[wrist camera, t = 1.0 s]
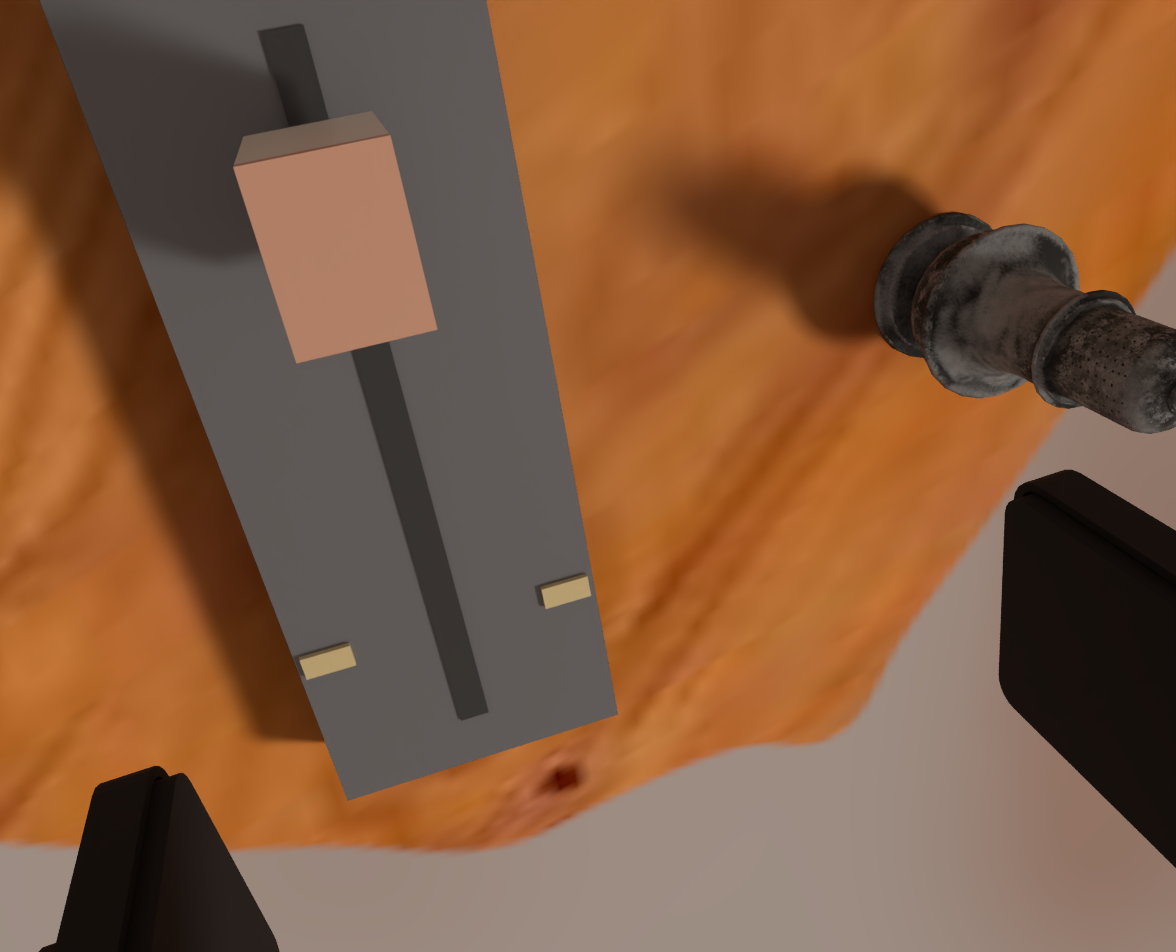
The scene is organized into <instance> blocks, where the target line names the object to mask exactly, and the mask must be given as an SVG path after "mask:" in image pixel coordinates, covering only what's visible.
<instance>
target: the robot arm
mask: <svg viewBox="0 0 1176 952" xmlns="http://www.w3.org/2000/svg"><path fill="white" fill-rule="evenodd" d="M1001 603H1002V604H1001V631H1000V655H999V656H1000V657H999V681H1000V685H1001V689H1002V691H1003V693H1004V695H1005V697H1006V699H1007V700H1008V702H1009V703H1010V704H1011V706H1012V707H1013V708H1014V709H1015V710H1016V711H1017V712H1018V713H1019V714H1020V715H1021V716H1022V717H1023V718H1024V719H1025V720H1026V721H1027V722H1028V723H1029V724H1030V725H1031V726H1032V727H1033V728H1034V729H1035V730H1036V731H1037V732H1038V733H1039V734H1040V735H1041V736H1042V737H1044V739H1045V740H1047V741H1048V742H1049V743H1050V744H1051V745H1052V746H1053V747H1054V748H1055V749H1056V750H1057V751H1058V752H1059V753H1060V754H1061V755H1062V756H1063V757H1064V758H1065V759H1066V760H1067V761H1068V762H1069V763H1070V764H1071V765H1072V766H1073V767H1074V768H1075V769H1076V770H1077V771H1078V772H1079V773H1080V774H1081V775H1082V776H1083V777H1084V778H1085V779H1086V780H1087V781H1088V782H1089V783H1090V784H1091V785H1092V786H1093V787H1094V788H1095V789H1096V790H1097V791H1099V793H1100V794H1101V795H1102V796H1103V797H1104V798H1105V799H1106V800H1107V801H1108V802H1109V803H1111V805H1113V806H1114V807H1115V808H1116V809H1117V810H1118V811H1119V812H1120V813H1121V814H1122V815H1123V816H1124V817H1125V818H1126V819H1127V820H1128V821H1129V822H1130V823H1131V824H1132V825H1133V826H1134V827H1135V828H1136V829H1137V830H1138V831H1139V832H1140V833H1141V834H1142V835H1143V836H1144V837H1145V838H1146V839H1147V840H1148V841H1149V842H1150V843H1151V844H1152V845H1153V846H1154V847H1155V848H1156V849H1157V850H1158V851H1159V852H1160V853H1161V854H1162V855H1163V856H1164V857H1165V858H1166V859H1167V860H1168V861H1169V862H1170V863H1171V864H1172V865H1173V866H1174V867H1175V868H1176V531H1175V530H1174V529H1172V528H1170V527H1169V526H1167V525H1165V524H1164V523H1162V522H1160V521H1159V520H1157V519H1155V518H1154V517H1152V516H1150V515H1149V514H1147V513H1145V512H1144V511H1142V510H1141V509H1139V508H1137V507H1136V506H1134V505H1132V504H1131V503H1129V502H1127V501H1126V500H1124V499H1122V498H1121V497H1119V496H1117V495H1116V494H1114V493H1112V492H1111V491H1109V490H1107V489H1106V488H1104V487H1103V486H1101V485H1099V484H1097V483H1096V482H1094V481H1093V480H1091V479H1089V478H1087V477H1086V476H1084V475H1082V474H1081V473H1079V472H1076V471H1074V470H1063V471H1060V472H1057V473H1054V474H1050V475H1047V476H1044V477H1041V478H1039V479H1035V480H1032V481H1029V482H1026V483H1024V484H1022V485H1020V486H1019V487H1018V489H1017V491H1016V492H1015V496H1014V500H1012V501H1010V502H1009V503H1008V505H1007V506H1006V510H1005V524H1004V552H1003V576H1002V602H1001ZM39 952H279V948H278V945H277V942H276V939H275V937H274V935H273V933H272V931H271V929H270V927H269V925H268V924H267V922H266V920H265V918H264V916H263V914H262V913H261V911H260V909H259V907H258V905H257V903H256V901H255V900H254V898H253V896H252V894H251V892H250V891H249V889H248V887H247V885H246V883H245V881H244V879H243V877H242V876H241V874H240V872H239V870H238V868H237V867H236V865H235V863H234V861H233V859H232V857H231V855H230V853H229V852H228V850H227V848H226V846H225V844H224V842H223V841H222V839H221V837H220V835H219V833H218V831H217V829H216V828H215V826H214V824H213V822H212V820H211V818H210V817H209V815H208V813H207V811H206V809H205V807H204V805H203V804H202V802H201V800H200V798H199V796H198V794H197V793H196V791H195V789H194V787H193V785H192V783H191V782H190V780H189V779H188V777H187V776H186V775H185V774H184V773H179V774H175V775H172V776H168V774H167V773H166V771H165V770H164V769H163V768H161V767H160V766H153V767H150V768H147V769H144V770H141V771H138V772H135V773H132V774H128V775H125V776H122V777H119V778H116V779H113V780H110V781H107V782H104V783H101V784H99V785H98V786H97V787H96V788H95V790H94V793H93V795H92V799H91V803H90V807H89V811H88V815H87V819H86V823H85V827H84V831H83V835H82V839H81V843H80V847H79V852H78V856H77V860H76V864H75V868H74V873H73V876H72V880H71V884H70V888H69V893H68V896H67V901H66V905H65V909H64V913H63V917H62V921H61V925H60V929H59V933H58V937H57V941H56V943H54V944H51V945H48V946H46V947H43V948H42V949H41V950H40V951H39Z"/></svg>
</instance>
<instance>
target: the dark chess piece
mask: <svg viewBox="0 0 1176 952" xmlns="http://www.w3.org/2000/svg"><path fill="white" fill-rule="evenodd" d="M874 311H875V317H876V323H877V325H878V327H879V329H880V331H881V333H882V335H883V337H884V338H885V339H886V340H887V341H888V343H889V344H890V345H891V346H892V347H893V348H894V349H896V350H898V351H900V352H902V353H904V354H906V355H909V356H913V357H921V358H924V359H925V361H926V363H927V365H928V367H929V369H930V371H931V374H932V375H933V376H934V377H935V378H936V379H937V380H938V381H939V382H940V383H941V384H942V385H943V386H944V387H945V388H946V389H948V390H950V391H952V392H955V393H957V394H959V395H961V396H965V397H974V398H985V397H991V396H996V395H1001V394H1003V393H1005V392H1008V391H1010V390H1012V389H1014V388H1017V387H1019V386H1021V385H1022V384H1023V383H1025V382H1026V381H1029V382H1031V383H1033V384H1034V386H1035V389H1036V391H1037V393H1038V394H1039V395H1040V396H1041V398H1042V399H1043V400H1044V401H1046V402H1047V403H1049V404H1051V405H1053V406H1055V407H1059V408H1067V409H1069V408H1075V407H1080V406H1084V407H1086V408H1088V409H1090V410H1093V411H1094V412H1096V413H1098V414H1100V415H1102V416H1104V417H1106V418H1108V419H1110V420H1112V421H1114V422H1116V423H1118V424H1120V425H1122V426H1124V427H1126V428H1128V429H1130V430H1131V431H1136V432H1140V433H1148V434H1152V433H1158V432H1162V431H1166V430H1170V429H1172V428H1174V427H1176V329H1173V328H1170V327H1168V326H1165V325H1162V324H1160V323H1157V322H1154V321H1152V320H1149V319H1146V318H1143V317H1141V316H1138V315H1136V314H1135V310H1134V308H1133V307H1132V305H1131V304H1130V302H1129V301H1128V300H1127V299H1126V298H1125V297H1123V296H1121V295H1120V294H1118V293H1116V292H1112V291H1106V290H1098V291H1091V292H1087V293H1083V292H1080V291H1079V271H1078V268H1077V265H1076V262H1075V259H1074V256H1073V253H1072V251H1071V250H1070V249H1069V248H1068V246H1067V245H1066V244H1065V242H1064V241H1063V240H1062V238H1061V237H1059V236H1057V235H1056V234H1054V233H1053V232H1051V231H1049V230H1048V229H1046V228H1044V227H1039V226H1034V225H1029V224H1017V225H1009V226H1003V227H1000V228H998V229H995V230H992V228H991V227H990V226H989V225H988V224H987V223H985V222H983V221H982V220H980V219H978V218H977V217H975V216H971V215H966V214H961V213H950V214H941V215H938V216H935V217H933V218H930V219H928V220H925V221H923V222H921V223H920V224H918V225H917V226H916V227H914V228H913V229H912V230H910V231H909V232H907V233H906V234H905V235H904V236H903V237H902V238H901V240H900V241H899V242H898V243H897V244H896V245H895V246H894V248H893V249H892V250H891V252H890V253H889V255H888V257H887V259H886V260H885V262H884V264H883V266H882V267H881V270H880V273H879V277H878V280H877V283H876V286H875V295H874Z"/></svg>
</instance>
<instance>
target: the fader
mask: <svg viewBox="0 0 1176 952" xmlns="http://www.w3.org/2000/svg"><path fill="white" fill-rule="evenodd" d="M233 168H234V172H235V175H236V178H237V181H238V184H239V187H240V190H241V193H242V196H243V199H244V203H245V206H246V209H247V212H248V215H249V218H250V221H251V224H252V227H253V231H254V234H255V237H256V240H257V243H258V246H259V249H260V252H261V255H262V258H263V262H264V265H265V268H266V271H267V274H268V277H269V280H270V283H271V286H272V289H273V293H274V296H275V299H276V302H277V305H278V308H279V311H280V314H281V317H282V320H283V324H284V327H285V330H286V333H287V336H288V339H289V342H290V345H291V348H292V351H293V355H294V358H295V361H296V364H297V363H301V362H305V361H309V360H313V359H317V358H322V357H326V356H330V355H334V354H338V353H342V352H347V351H351V350H355V349H359V348H363V347H367V346H372V345H376V344H380V343H384V342H388V341H392V340H397V339H401V338H405V337H409V336H413V335H417V334H422V333H426V332H430V331H434V330H438V329H437V325H436V321H435V317H434V313H433V309H432V305H431V300H430V296H429V292H428V288H427V284H426V280H425V276H424V272H423V267H422V263H421V259H420V255H419V251H418V247H417V243H416V239H415V234H414V230H413V226H412V222H411V218H410V214H409V210H408V205H407V201H406V197H405V193H404V189H403V185H402V181H401V177H400V172H399V168H398V164H397V160H396V156H395V152H394V148H393V144H392V139H391V135H390V134H389V133H388V131H387V130H386V129H385V127H384V126H383V125H382V124H381V122H380V121H379V120H378V118H377V117H376V116H375V114H374V113H373V112H372V111H369V112H364V113H359V114H354V115H349V116H344V117H339V118H334V119H329V120H324V121H319V122H313V123H308V124H303V125H298V126H293V127H288V128H283V129H278V130H273V131H268V132H263V133H258V134H253V135H248V136H243V139H242V142H241V145H240V148H239V151H238V154H237V157H236V160H235V163H234V166H233Z"/></svg>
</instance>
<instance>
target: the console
mask: <svg viewBox="0 0 1176 952" xmlns="http://www.w3.org/2000/svg"><path fill="white" fill-rule="evenodd" d="M40 3H41V6H42V8H43V11H44V13H45V16H46V19H47V21H48V24H49V26H50V29H51V32H52V34H53V37H54V39H55V42H56V45H57V47H58V50H59V52H60V55H61V58H62V60H63V63H64V65H65V68H66V71H67V73H68V76H69V78H70V81H71V83H72V86H73V89H74V91H75V94H76V96H77V99H78V102H79V104H80V107H81V109H82V112H83V115H84V117H85V120H86V122H87V125H88V128H89V130H90V133H91V135H92V138H93V141H94V143H95V146H96V148H97V151H98V154H99V156H100V159H101V161H102V164H103V167H104V169H105V172H106V174H107V177H108V180H109V182H110V185H111V187H112V190H113V193H114V195H115V198H116V200H117V203H118V206H119V208H120V211H121V213H122V216H123V218H124V221H125V224H126V226H127V229H128V231H129V234H130V237H131V239H132V242H133V244H134V247H135V250H136V252H137V255H138V257H139V260H140V263H141V265H142V268H143V270H144V273H145V276H146V278H147V281H148V283H149V286H150V289H151V291H152V294H153V296H154V299H155V302H156V304H157V307H158V309H159V312H160V315H161V317H162V320H163V322H164V325H165V328H166V330H167V333H168V335H169V338H170V341H171V343H172V346H173V348H174V351H175V353H176V356H177V359H178V361H179V364H180V366H181V369H182V372H183V374H184V377H185V379H186V382H187V385H188V387H189V390H190V392H191V395H192V398H193V400H194V403H195V405H196V408H197V411H198V413H199V416H200V418H201V421H202V424H203V426H204V429H205V431H206V434H207V437H208V439H209V442H210V444H211V447H212V450H213V452H214V455H215V457H216V460H217V463H218V465H219V468H220V470H221V473H222V476H223V478H224V481H225V483H226V486H227V489H228V491H229V494H230V496H231V499H232V501H233V504H234V507H235V509H236V512H237V514H238V517H239V520H240V522H241V525H242V527H243V530H244V533H245V535H246V538H247V540H248V543H249V546H250V548H251V551H252V553H253V556H254V559H255V561H256V564H257V566H258V569H259V572H260V574H261V577H262V579H263V582H264V585H265V587H266V590H267V592H268V595H269V598H270V600H271V603H272V605H273V608H274V611H275V613H276V616H277V618H278V621H279V624H280V626H281V629H282V631H283V634H284V636H285V639H286V642H287V644H288V647H289V649H290V652H291V655H292V657H293V660H294V662H295V665H296V668H297V670H298V673H299V675H300V678H301V681H302V683H303V686H304V688H305V691H306V694H307V696H308V699H309V701H310V704H311V707H312V709H313V712H314V714H315V717H316V720H317V722H318V725H319V727H320V730H321V733H322V735H323V738H324V740H325V743H326V746H327V748H328V751H329V753H330V756H331V759H332V761H333V764H334V766H335V769H336V771H337V774H338V777H339V779H340V782H341V784H342V787H343V790H344V792H345V795H346V797H347V800H351V799H355V798H358V797H361V796H364V795H367V794H370V793H373V792H377V791H380V790H383V789H386V788H389V787H392V786H395V785H398V784H402V783H405V782H408V781H411V780H414V779H417V778H420V777H424V776H427V775H430V774H433V773H436V772H439V771H442V770H445V769H449V768H452V767H455V766H458V765H461V764H464V763H467V762H470V761H474V760H477V759H480V758H483V757H486V756H489V755H492V754H496V753H499V752H502V751H505V750H508V749H511V748H514V747H517V746H521V745H524V744H527V743H530V742H533V741H536V740H539V739H542V738H546V737H549V736H552V735H555V734H558V733H561V732H564V731H568V730H571V729H574V728H577V727H580V726H583V725H586V724H589V723H593V722H596V721H599V720H602V719H605V718H608V717H611V716H614V715H618V712H617V707H616V701H615V696H614V690H613V685H612V680H611V674H610V669H609V663H608V658H607V652H606V647H605V642H604V636H603V631H602V625H601V620H600V615H599V609H598V604H597V598H596V593H595V587H594V582H593V577H592V571H591V566H590V560H589V555H588V550H587V544H586V539H585V533H584V528H583V522H582V517H581V512H580V506H579V501H578V495H577V490H576V485H575V479H574V474H573V468H572V463H571V457H570V452H569V447H568V441H567V436H566V430H565V425H564V420H563V414H562V409H561V403H560V398H559V392H558V387H557V382H556V376H555V371H554V365H553V360H552V354H551V349H550V344H549V338H548V333H547V327H546V322H545V317H544V311H543V306H542V300H541V295H540V289H539V284H538V279H537V273H536V268H535V262H534V257H533V252H532V246H531V241H530V235H529V230H528V224H527V219H526V214H525V208H524V203H523V197H522V192H521V187H520V181H519V176H518V170H517V165H516V159H515V154H514V149H513V143H512V138H511V132H510V127H509V122H508V116H507V111H506V105H505V100H504V94H503V89H502V84H501V78H500V73H499V67H498V62H497V57H496V51H495V46H494V40H493V35H492V29H491V24H490V19H489V13H488V8H487V2H486V0H40ZM369 111H372V112H373V113H374V114H375V116H376V117H377V118H378V120H379V121H380V122H381V124H382V125H383V126H384V127H385V129H386V130H387V131H388V133H389V134H390V135H391V139H392V144H393V148H394V152H395V156H396V160H397V164H398V168H399V172H400V177H401V181H402V185H403V189H404V193H405V197H406V201H407V205H408V210H409V214H410V218H411V222H412V226H413V230H414V234H415V239H416V243H417V247H418V251H419V255H420V259H421V263H422V267H423V272H424V276H425V280H426V284H427V288H428V292H429V296H430V300H431V305H432V309H433V313H434V317H435V321H436V325H437V329H438V330H434V331H430V332H426V333H422V334H417V335H413V336H409V337H405V338H401V339H397V340H392V341H388V342H384V343H380V344H376V345H372V346H367V347H363V348H359V349H355V350H351V351H347V352H342V353H338V354H334V355H330V356H326V357H322V358H317V359H313V360H309V361H305V362H301V363H297V364H296V361H295V358H294V355H293V351H292V348H291V345H290V342H289V339H288V336H287V333H286V330H285V327H284V324H283V320H282V317H281V314H280V311H279V308H278V305H277V302H276V299H275V296H274V293H273V289H272V286H271V283H270V280H269V277H268V274H267V271H266V268H265V265H264V262H263V258H262V255H261V252H260V249H259V246H258V243H257V240H256V237H255V234H254V231H253V227H252V224H251V221H250V218H249V215H248V212H247V209H246V206H245V203H244V199H243V196H242V193H241V190H240V187H239V184H238V181H237V178H236V175H235V172H234V168H233V166H234V163H235V160H236V157H237V154H238V151H239V148H240V145H241V142H242V139H243V136H248V135H253V134H258V133H263V132H268V131H273V130H278V129H283V128H288V127H293V126H298V125H303V124H308V123H313V122H319V121H324V120H329V119H334V118H339V117H344V116H349V115H354V114H359V113H364V112H369Z"/></svg>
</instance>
